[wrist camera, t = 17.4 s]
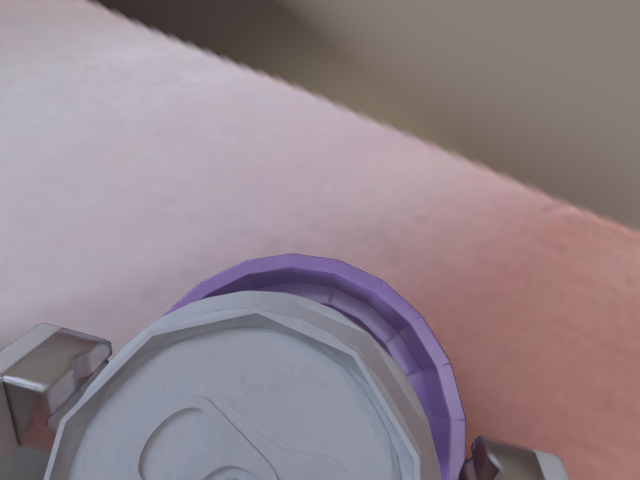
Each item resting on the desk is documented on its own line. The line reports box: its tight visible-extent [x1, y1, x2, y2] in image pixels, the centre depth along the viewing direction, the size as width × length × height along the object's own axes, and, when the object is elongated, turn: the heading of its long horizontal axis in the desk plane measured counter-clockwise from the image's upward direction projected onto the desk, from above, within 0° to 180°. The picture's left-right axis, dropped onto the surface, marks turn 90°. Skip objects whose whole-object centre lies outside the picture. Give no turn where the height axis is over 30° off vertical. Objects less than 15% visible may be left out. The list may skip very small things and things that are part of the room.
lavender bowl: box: [161, 254, 466, 480], centre depth 14 cm, size 10×10×4 cm
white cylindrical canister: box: [43, 291, 441, 480], centre depth 10 cm, size 5×5×12 cm
